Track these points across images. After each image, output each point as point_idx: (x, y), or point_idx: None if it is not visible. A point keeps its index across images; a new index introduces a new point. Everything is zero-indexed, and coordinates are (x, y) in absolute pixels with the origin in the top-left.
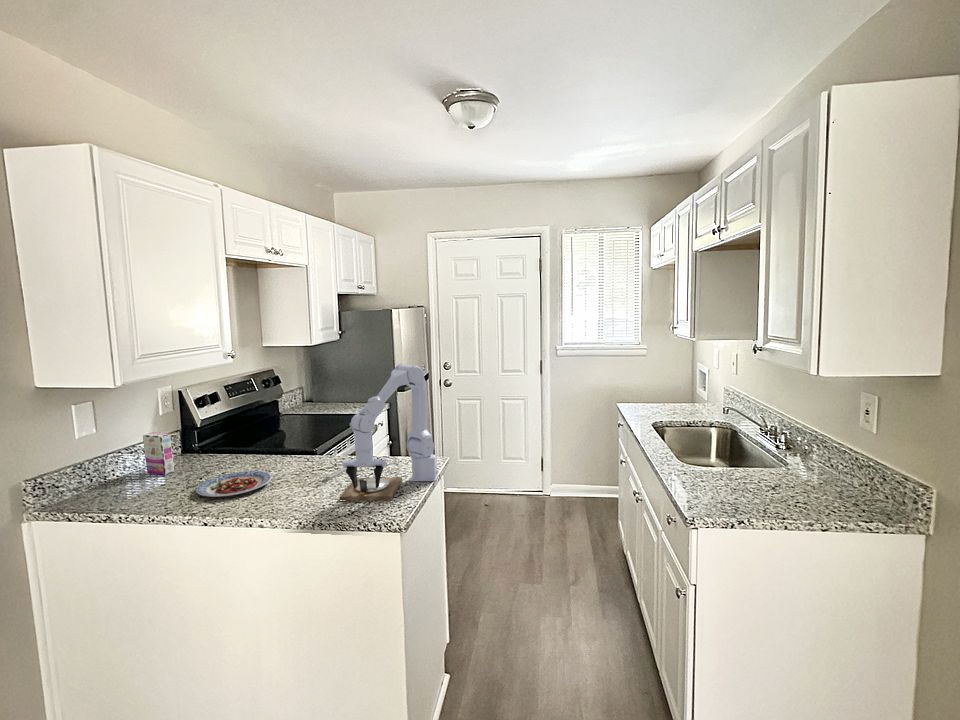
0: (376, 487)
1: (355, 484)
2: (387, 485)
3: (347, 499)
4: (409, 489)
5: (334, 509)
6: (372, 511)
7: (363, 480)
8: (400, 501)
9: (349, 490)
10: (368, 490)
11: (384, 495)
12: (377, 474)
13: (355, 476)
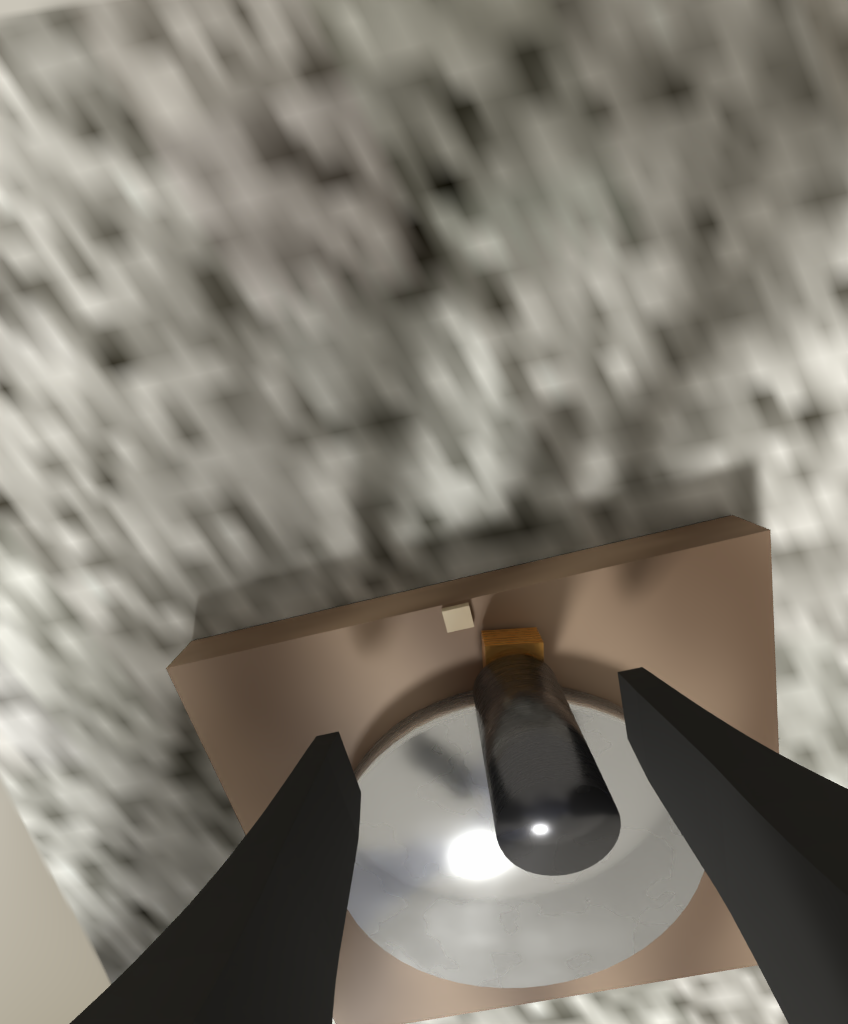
0: (327, 735)
1: (646, 712)
2: None
3: (652, 542)
4: (183, 867)
5: (698, 285)
6: (210, 334)
7: (533, 804)
8: (87, 633)
9: (719, 711)
10: (466, 712)
11: (247, 666)
12: (152, 981)
13: (739, 875)
